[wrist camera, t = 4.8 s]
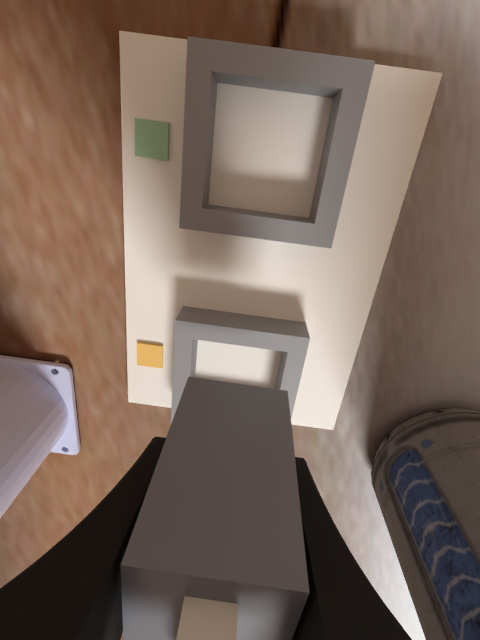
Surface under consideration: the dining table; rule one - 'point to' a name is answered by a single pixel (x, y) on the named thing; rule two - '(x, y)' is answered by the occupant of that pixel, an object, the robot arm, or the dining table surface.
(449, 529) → the beverage bottle
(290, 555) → the plug
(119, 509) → the robot arm
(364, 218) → the panel
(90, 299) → the dining table surface
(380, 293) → the dining table surface
